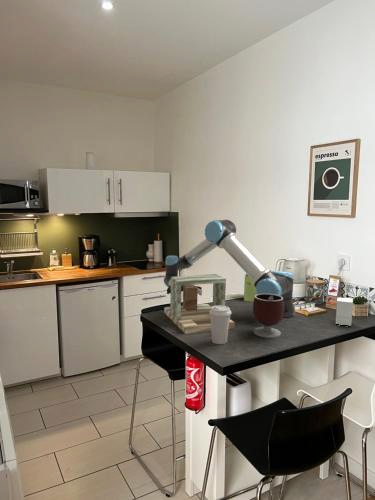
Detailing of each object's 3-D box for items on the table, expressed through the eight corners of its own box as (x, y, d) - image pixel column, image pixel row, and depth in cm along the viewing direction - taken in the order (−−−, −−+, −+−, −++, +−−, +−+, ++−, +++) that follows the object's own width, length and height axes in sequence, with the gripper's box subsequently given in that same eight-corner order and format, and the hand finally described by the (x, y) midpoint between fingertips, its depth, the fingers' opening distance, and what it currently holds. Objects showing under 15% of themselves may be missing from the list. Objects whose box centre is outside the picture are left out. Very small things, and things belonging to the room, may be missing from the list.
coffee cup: (207, 337, 173) (207, 305, 171) (228, 337, 173) (229, 304, 171) (210, 345, 163) (211, 311, 161) (232, 345, 164) (233, 311, 162)
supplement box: (351, 323, 196) (353, 298, 195) (351, 327, 190) (352, 302, 188) (336, 320, 199) (337, 296, 198) (335, 325, 193) (336, 300, 191)
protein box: (269, 303, 232) (270, 277, 229) (243, 301, 235) (244, 276, 233) (269, 298, 242) (270, 274, 240) (244, 296, 245) (245, 272, 243)
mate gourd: (250, 327, 187) (251, 287, 184) (279, 328, 187) (281, 287, 184) (254, 339, 172) (256, 295, 169) (286, 340, 171) (288, 296, 168)
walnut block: (197, 309, 205) (197, 287, 203) (186, 310, 203) (186, 288, 201) (193, 306, 211) (193, 284, 209) (182, 307, 209) (183, 285, 207)
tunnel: (234, 328, 185) (235, 283, 182) (185, 333, 177) (186, 286, 174) (207, 308, 217) (207, 270, 214) (164, 312, 209) (164, 272, 206)
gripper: (196, 290, 231) (210, 298, 211) (156, 292, 222) (166, 302, 202) (196, 277, 229) (211, 285, 210) (156, 280, 221) (167, 288, 201)
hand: (189, 293), depth 206 cm, fingers open, 13 cm apart
